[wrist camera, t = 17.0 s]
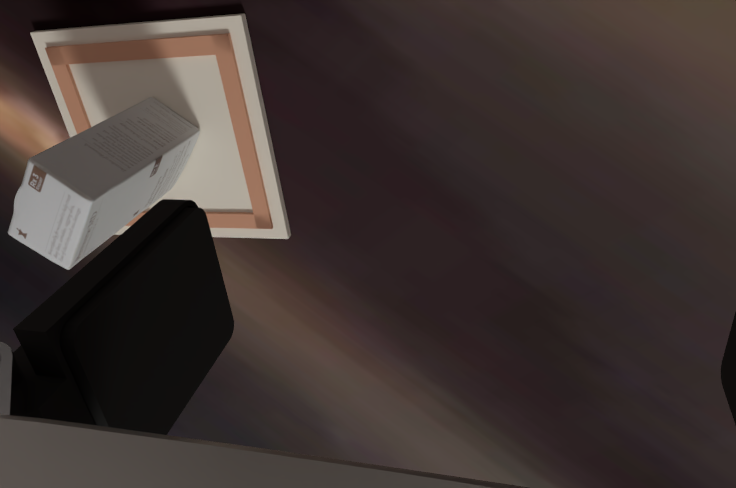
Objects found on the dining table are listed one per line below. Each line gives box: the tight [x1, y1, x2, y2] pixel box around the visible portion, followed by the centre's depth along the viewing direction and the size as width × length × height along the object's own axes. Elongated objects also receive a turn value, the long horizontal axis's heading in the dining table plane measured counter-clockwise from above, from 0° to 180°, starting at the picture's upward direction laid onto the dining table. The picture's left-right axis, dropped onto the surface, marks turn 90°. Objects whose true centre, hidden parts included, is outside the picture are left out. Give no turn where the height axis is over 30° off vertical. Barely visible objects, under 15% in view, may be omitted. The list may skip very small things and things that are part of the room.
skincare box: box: [8, 97, 200, 270], centre depth 39 cm, size 6×4×12 cm
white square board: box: [30, 13, 291, 239], centre depth 44 cm, size 16×16×1 cm
